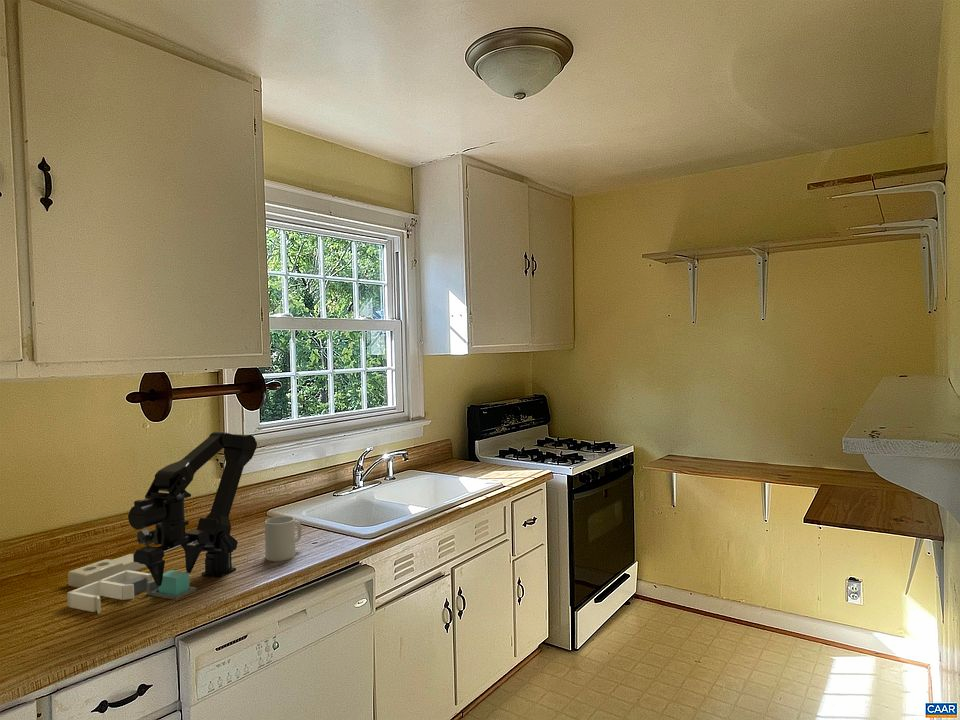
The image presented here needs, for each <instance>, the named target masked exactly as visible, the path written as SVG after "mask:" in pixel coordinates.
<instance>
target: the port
mask: <svg viewBox="0 0 960 720" xmlns="http://www.w3.org/2000/svg"><path fill="white" fill-rule="evenodd" d="M152 578H153V577H152V574H151V573H150V572H149V573H148V572H142V571H138V570H136V571H131V570H125V571H122V572H120V573H117V574H115V575H112V576H109V577H107V578H104V579H102V580H99V581H96V582H94V583H91V584H88V585H86V586H83V587H81V588H78V587H77V588H76V589H73V590H70V591H68V592H67V595H66V596H67V607H68V608H71V609H76V610H82V611H85V612H92V613H96V612H97V614H98V615H99V614H102V608H101V607H102V606H101V597H105V598H106V597H107V598H110V599H111V598H112V599H116V600H121V601H123V600H124V601H125V600H134V599H135V595H137V594H139V593H141V592H144V591H147V584H146V583H148V582H150V581H152V580H153V579H152Z"/></svg>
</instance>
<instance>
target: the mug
mask: <svg viewBox="0 0 960 720" xmlns="http://www.w3.org/2000/svg"><path fill="white" fill-rule="evenodd" d="M295 527H296V528H297V534H296V531H295V530H296V528H295ZM302 534H303V531H302V524H301V522H300V521H299V520H297V519H296V520H295V518H294V517H293V516H287V515H285V516H284V515H282V516H281V515H279V516H274V517H270V518H268V519H265V521H264V540H265V542H264V543H265V544H264V545H265V548H264V549H265V550H264V551H265V553H264V555H265V556H264V557H265V559H266V560H267V561H270V562H283V561H288V560H290V559H293V558H294V557H295V556H296V543H299V541H300V540H302V539H301V538H302Z"/></svg>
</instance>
